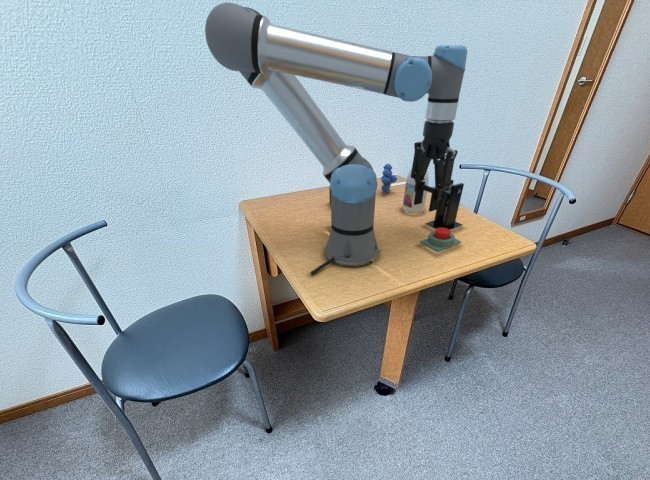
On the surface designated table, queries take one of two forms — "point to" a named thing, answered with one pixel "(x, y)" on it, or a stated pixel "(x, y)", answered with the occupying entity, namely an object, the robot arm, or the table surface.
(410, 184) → the milk bottle
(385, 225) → the table surface
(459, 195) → the bracket
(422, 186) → the lever
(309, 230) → the table surface
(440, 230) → the button
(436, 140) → the robot arm
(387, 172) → the grapes
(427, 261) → the table surface
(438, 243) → the button box
